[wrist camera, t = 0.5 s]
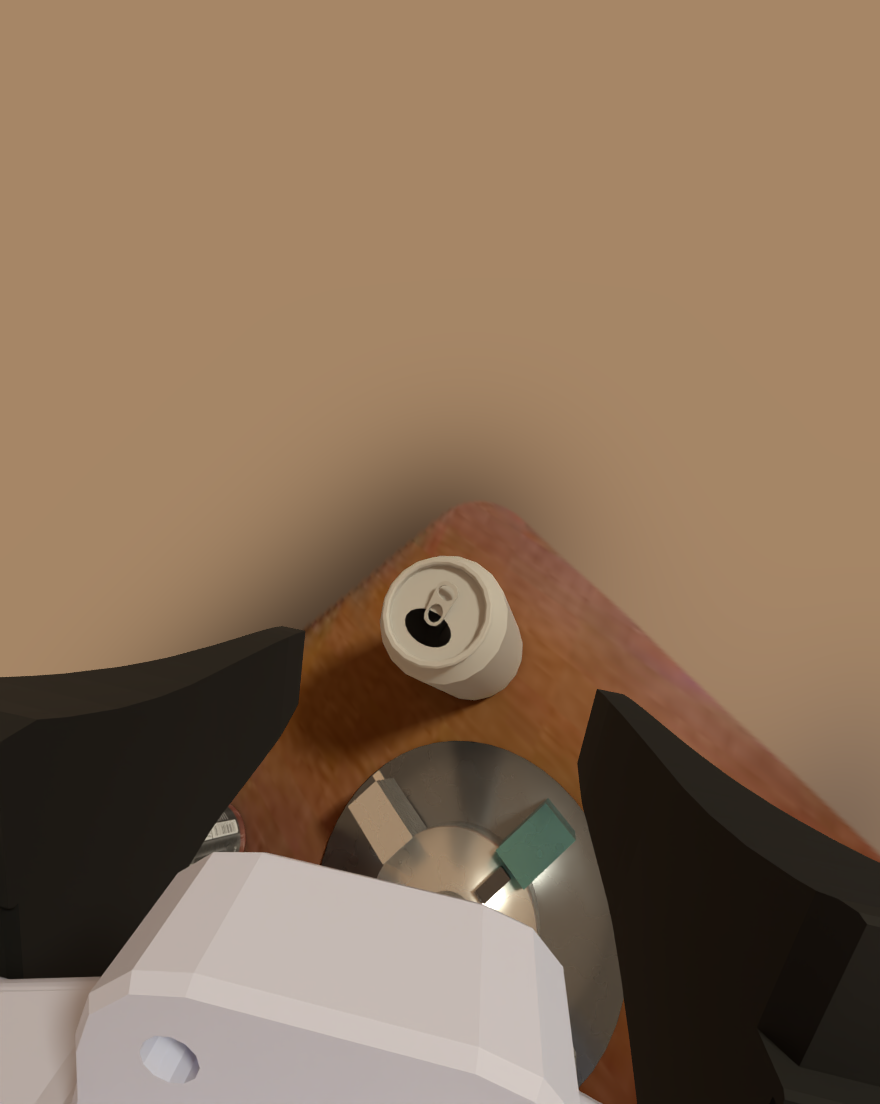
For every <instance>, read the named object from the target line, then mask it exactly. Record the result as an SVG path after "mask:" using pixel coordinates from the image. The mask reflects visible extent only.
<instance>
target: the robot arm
mask: <svg viewBox="0 0 880 1104" xmlns="http://www.w3.org/2000/svg"><path fill="white" fill-rule="evenodd" d="M304 639H305V631H303V630H298V629H293V628H288V627H283V626H281V627H274V628H270V629H266V630H262V631H259V632H256V633H252V634H249V635H246V636H242V637H240V638H236V639H233V640H229V641H226V642H223V643H220V644H217V645H213V646H209V647H206V648H202V649H198V650H195V651H191V652H187V653H183V654H180V655H176V656H172V657H168V658H164V659H159V660H154V661H149V662H144V663H139V664H133V665H128V666H122V667H115V668H107V669H99V670H91V671H82V672H74V673H66V674H54V675H40V676H21V677H0V1104H602V1103H600V1102H598V1101H596V1100H594V1099H593V1098H591V1097H589V1096H587V1095H586V1094H584V1093H582V1092H580V1091H579V1090H578V1082H577V1074H576V1066H575V1058H574V1050H573V1042H572V1034H571V1026H570V1018H569V1010H568V1002H567V994H566V986H565V978H564V970H563V966H562V965H561V964H560V963H559V961H558V960H557V959H556V957H555V956H554V955H553V954H552V952H551V951H550V950H549V949H548V947H547V946H546V945H545V943H544V942H543V941H542V940H541V938H540V937H539V936H538V935H537V933H536V932H535V931H534V929H533V928H531V927H529V926H528V925H526V924H524V923H522V922H520V921H518V920H516V919H513V918H511V917H509V916H507V915H505V914H503V913H501V912H499V911H496V910H494V909H492V908H490V907H488V906H486V905H484V904H482V903H478V902H473V901H469V900H465V899H461V898H457V897H452V896H448V895H444V894H440V893H435V892H431V891H427V890H423V889H419V888H414V887H410V886H406V885H402V884H397V883H393V882H389V881H385V880H381V879H376V878H372V877H368V876H364V875H360V874H355V873H351V872H347V871H343V870H338V869H334V868H330V867H326V866H322V865H317V864H313V863H309V862H305V861H300V860H296V859H292V858H288V857H284V856H279V855H275V854H271V853H267V852H213V853H211V854H209V855H208V856H206V857H204V858H203V859H201V860H199V861H198V862H196V863H194V864H192V865H191V866H189V865H190V864H191V862H192V860H193V859H194V857H195V856H196V854H197V852H198V851H199V849H200V847H201V846H202V844H203V842H204V841H205V839H206V838H207V836H208V834H209V833H210V831H211V830H212V828H213V827H214V825H215V824H216V822H217V821H218V819H219V818H220V817H221V815H222V814H223V812H224V811H225V810H226V808H227V807H228V806H229V804H230V803H231V802H232V800H233V799H234V798H235V796H236V795H237V794H238V792H239V791H240V790H241V788H242V787H243V786H244V785H245V783H246V782H247V781H248V779H249V778H250V777H251V775H252V774H253V773H254V771H255V770H256V769H257V767H258V766H259V765H260V763H261V762H262V761H263V759H264V758H265V757H266V755H267V754H268V753H269V751H270V750H271V749H272V747H273V746H274V745H275V743H276V742H277V741H278V739H279V738H280V736H281V734H282V733H283V731H284V729H285V727H286V726H287V724H288V722H289V720H290V718H291V717H292V715H293V713H294V711H295V709H296V707H297V705H298V701H299V691H300V680H301V670H302V660H303V650H304ZM578 773H579V783H580V791H581V799H582V805H583V809H584V813H585V817H586V821H587V825H588V829H589V833H590V837H591V841H592V844H593V848H594V852H595V856H596V860H597V863H598V867H599V871H600V875H601V879H602V883H603V886H604V890H605V894H606V898H607V902H608V906H609V911H610V916H611V920H612V925H613V931H614V937H615V944H616V950H617V956H618V962H619V969H620V975H621V981H622V989H623V996H624V1003H625V1010H626V1017H627V1025H628V1032H629V1039H630V1047H631V1055H632V1063H633V1072H634V1080H635V1089H636V1097H637V1104H880V863H879V862H877V861H875V860H872V859H870V858H868V857H866V856H864V855H862V854H860V853H858V852H856V851H854V850H852V849H850V848H848V847H847V846H845V845H843V844H841V843H839V842H837V841H835V840H833V839H831V838H829V837H828V836H826V835H824V834H822V833H820V832H819V831H817V830H815V829H813V828H811V827H810V826H808V825H806V824H804V823H802V822H801V821H799V820H797V819H795V818H793V817H792V816H790V815H788V814H787V813H785V812H783V811H782V810H780V809H778V808H777V807H775V806H773V805H772V804H770V803H769V802H767V801H766V800H764V799H762V798H761V797H759V796H758V795H756V794H755V793H753V792H752V791H750V790H749V789H747V788H745V787H744V786H742V785H741V784H739V783H738V782H736V781H735V780H734V779H732V778H731V777H729V776H728V775H726V774H725V773H724V772H722V771H721V770H720V769H718V768H717V767H716V766H714V765H713V764H712V763H710V762H709V761H707V760H706V759H705V758H703V757H702V756H701V755H699V754H698V753H697V752H696V751H694V750H693V749H692V748H691V747H689V746H688V745H687V744H685V743H684V742H683V741H682V740H680V739H679V738H678V737H677V736H676V735H674V734H673V733H672V732H671V731H669V730H668V729H667V728H666V727H665V726H663V725H662V724H661V723H660V722H659V721H657V720H656V719H655V718H654V717H653V716H651V715H650V714H649V713H648V712H647V711H645V710H644V709H643V708H642V707H640V706H639V705H638V704H637V703H635V702H634V701H633V700H631V699H630V698H628V697H627V696H625V695H624V694H619V693H614V692H609V691H604V690H599V689H597V691H596V695H595V699H594V703H593V706H592V710H591V714H590V718H589V721H588V725H587V729H586V733H585V737H584V740H583V744H582V748H581V752H580V756H579V759H578Z"/></svg>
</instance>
